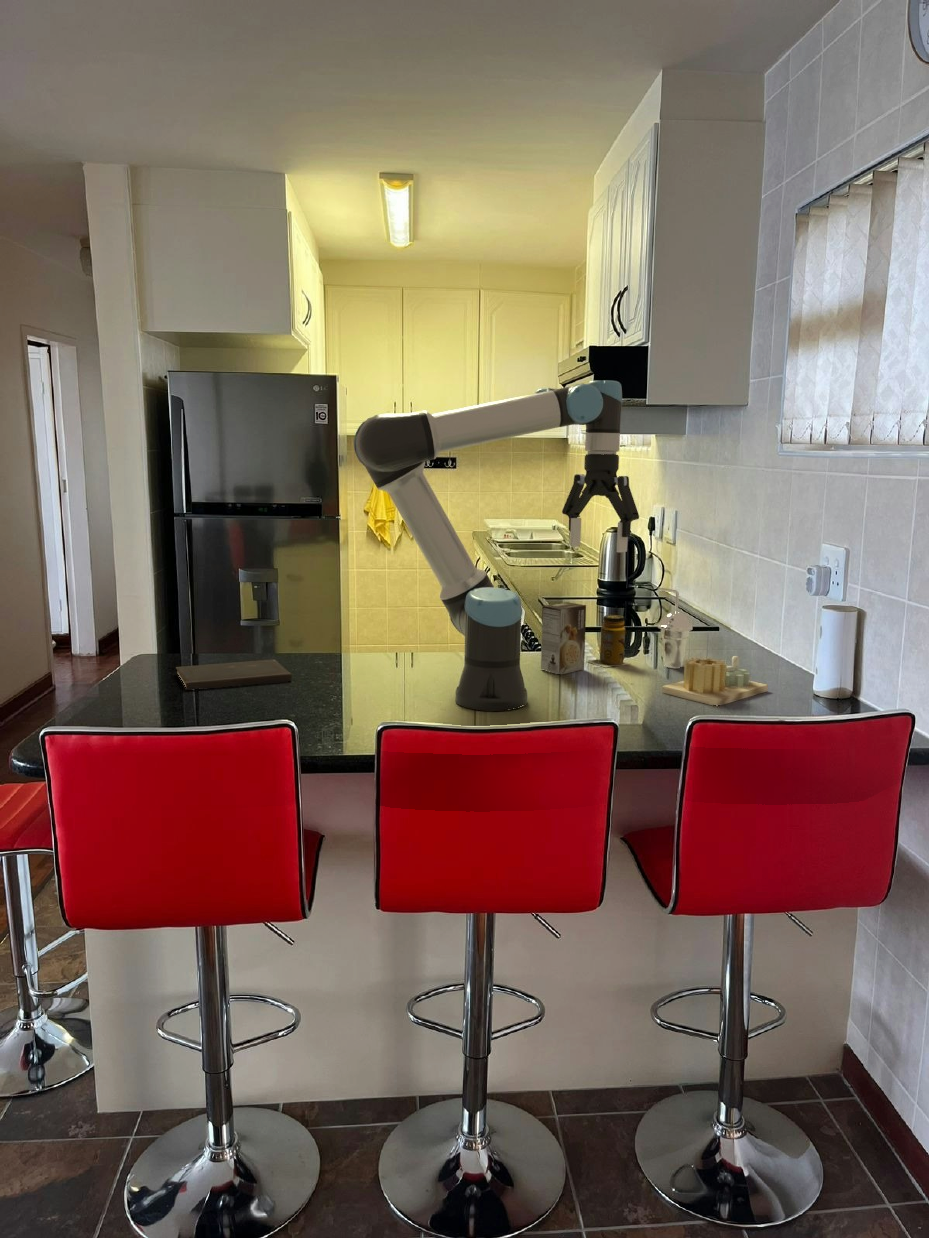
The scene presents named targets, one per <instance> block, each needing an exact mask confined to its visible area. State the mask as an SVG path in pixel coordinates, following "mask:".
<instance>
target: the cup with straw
mask: <svg viewBox="0 0 929 1238" xmlns="http://www.w3.org/2000/svg"><path fill="white" fill-rule="evenodd" d="M656 590H657V591H662V592H669V593H674V594H675V601H674V602H675V603H674V604H675V607H674V611H670V612H668V613H666V614H665V615H664V616H663V617H662V619H661V622H659V623H658V625H657V628H658V629H660V637H661V643H662V658H663V667H664V668H667V667H668V669H681V668H680V667H682V668H683V663H684V661H685V660H684V659H685V653H686V648H687V647H686V646H687V643H688V639H689V636H690V631H692V630H693V625H692V624H691V623H690V620H689V618H688V616H687V615H686V614H685V613H683V612H681V611H679V601H680V600H679V598H680V595H679V594H680V593H679V592H678V590H677V589H672V588H665V587H660V586H657V588H656Z"/></svg>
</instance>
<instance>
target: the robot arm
mask: <svg viewBox="0 0 929 1238" xmlns="http://www.w3.org/2000/svg"><path fill="white" fill-rule="evenodd" d="M622 389H623V388H622V384H621V382H619V381H617V380H608V379H607V380H590V381H589V382H588V383H579V384H578V383H577V384H575V385H571V386H566V387H561V388H551V387H548V388H539V389H537V390H536V391H535V392H534V393H532V394H531V393H530V394H526V395H522V396H517V397H512V398H507V399H503V400H497V401H492V402H487V403H486V402H485V403H483V404H482V403H481V404H478V405H473V406H472V405H471V406H467V407H463V408H458V409H453V410H447V411H443V412H438V413H437V412H436V413H433V414H432V413H429V412H428V411H427V410H421V411H415V412H409V413H382V414H376V415H374V416H371V417H369V418H367V419H366V420H364V421H362V423H361V424H360V425H359V426H358V428H357V430H356V431H355V434H354V440H353V446H354V447H353V448H354V453H355V456H356V457H357V460H358V461H359V463H361V465H362V466H364V467H365V469H366V471H367V473H368V474H369V476H370V478H371V479H372V481H373V483H374V485H375V486H376V488H377V490H379V491H383V492H386V493H388V494H389V497H390V499H391V500H392V502H393V503H394V506H395V508H396V509H397V511H398V512H399V514H400V517H401V518H402V520H403V521H404V523H405V525H406V526H407V528H408V530H409V532H410V534H411V535H412V538H413V539H414V541H415V542H416V545H417V546H418V547H419V549H420V551H421V553H422V555H423V556H424V559H425V560H426V562H427V563H428V566H429V567H430V569H431V571H432V573H433V574H434V576H435V578H436V580H437V581H438V583H439V584H440V586H441V590H440V594H439V599H440V600H441V602H442V604H443V605H444V607H445V609H446V610H447V613H448V616H449V617H450V618H449V619H450V622H451V624H452V626H453V627H454V628H455V629H456V630H457V631H458V632H459V633H460V634H461V635H463V636H464V666H463V670H462V672H461V676H460V679H459V682H458V686H457V687H456V689H455V703H456V704H457V705H459V706H460V707H463V708H466V709H471V710H476V711H483V712H485V711H486V712H502V711H503V710H506V711H509V710H508V709H513V708H518V707H520V706H522V705H525V704H526V702H527V703H528V689H527V688H526V686H525V682H524V676H523V673H522V670H521V641H522V640H521V637H522V636H521V635H522V616H523V607H522V599H521V597H520V595H519V594H518V593H516V592H515V591H512V590H510V589H506V588H503V587H495V586H494V583H493V582H492V581H491V579H490V577H489V575H488V573H487V572H486V571H485V570H482V569H479V568H477V567H476V566H475V564H474V563H473V561H472V559H471V557H470V555H469V553H468V552H467V549H466V548H465V547H464V544H463V542H462V541H461V539H460V537H459V535H458V533H457V532H456V530H455V528H454V526H453V524H452V523H451V520H450V519H449V517H448V516H447V514H446V512H445V510H444V509H443V506H442V505H441V503H440V501H439V500H438V497H437V496H436V494H435V491H434V490H433V488H432V487H431V485H430V483H429V481H428V479H427V477H426V476H425V474H424V469H425V465H426V461H427V462H428V461H432V460H435V459H437V457H438V455H439V454H440V453H444V452H449V451H453V450H458V449H463V448H469V447H472V446H478V445H482V444H486V443H491V442H496V441H500V440H501V441H502V440H504V439H505V440H506V439H510V438H515V437H519V436H523V435H529V434H533V433H539V432H544V431H547V430H548V431H549V430H552V429H557V428H562V427H568V426H572V425H573V426H574V425H575V426H576V425H577V426H578V425H579V426H585V441H584V451H585V452H587V453H585V455H584V467H583V470H585V474H582V473H581V474H578V473H577V474H574V476H573V482H572V483H573V484H572V486H571V488H570V491H569V493H568V495H567V498H566V501H565V503H564V505H563V507H562V511H561V512H562V514H563V515H565V516H567V517H568V532H569V533H570V535H569V538H570V539H569V541H570V542H569V547H570V548H574V547H575V548H578V547H581V541H582V540H581V538H582V536H581V535H582V533H581V532H582V517H581V514H582V512H583V511H584V510H585V508H586V506H587V505H588V504H589V502H590V501H591V499H592V498H593V497H594V496H600V497H601V496H602V497H606V498H607V499H608V501H609V502H610V504H611V506H612V507H613V509H614V511H615V513H616V514H617V516H618V517H619V519H620V520H618V522H617V531H616V532H617V534H616V553H626V552H628V541H629V540H628V538H629V537H630V536H631V527H632V525H631V524H632V522H633V521H637V520H639V519H640V515H639V512H638V511H639V510H638V509H637V506H636V502H635V499H634V497H633V493H632V490H631V488H630V477H629V475H619V476H618V475H617V474H618V473H617V472H618V470H619V469H620V468H619V467H620V466H619V465H620V456H619V454H617V453H618V452H620V445H621V444H620V441H621V440H620V439H621V421H622V405H623V390H622ZM584 486H585V487H584ZM616 486H617V487H616ZM526 705H527V704H526ZM526 705H525V706H526ZM518 709H519V708H518ZM513 710H514V709H513ZM503 712H504V711H503Z"/></svg>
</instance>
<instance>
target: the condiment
mask: <svg viewBox="0 0 929 1238" xmlns="http://www.w3.org/2000/svg"><path fill="white" fill-rule="evenodd" d="M602 619H603V621H602V625H601V628H600V641H599V643H600V644H599V659H593V660H590V659H589V660H587V662H588V663H590V664H593V665H595V666H599V667H603V668H611V667H618V666H619V667H620V666H626V665H627V666H628V665H631V663H630V662H627V661H624V659H625V646H626V645H625V641H626V640H625V638H626V627H625V617H624V616H623V615H618V614H605V615H604V616H603V618H602Z"/></svg>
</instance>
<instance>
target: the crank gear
mask: <svg viewBox="0 0 929 1238" xmlns="http://www.w3.org/2000/svg"><path fill="white" fill-rule="evenodd" d="M739 659H740V657H739V656H737V655H734V656H732V658H731V665H727V672H726V686H727V687H728V686H737V687H743V684H744V685H748V684H749V681H750V674H751V673H750V672H748V670H747V669H741V668H740V669H739Z"/></svg>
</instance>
